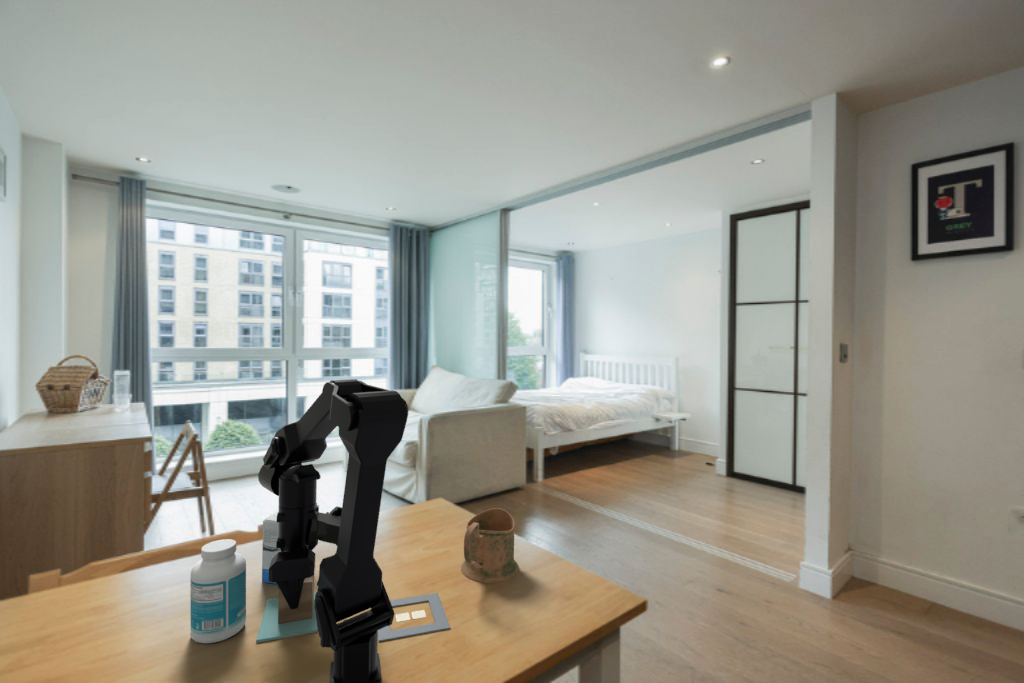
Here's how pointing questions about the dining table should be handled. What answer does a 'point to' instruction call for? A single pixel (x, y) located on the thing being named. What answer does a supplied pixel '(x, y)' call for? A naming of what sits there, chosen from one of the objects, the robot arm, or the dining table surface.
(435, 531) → the dining table surface
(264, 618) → the mat
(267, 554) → the ink box
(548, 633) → the dining table surface
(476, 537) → the mug
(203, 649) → the dining table surface
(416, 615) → the frame
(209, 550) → the pill bottle
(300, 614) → the block
